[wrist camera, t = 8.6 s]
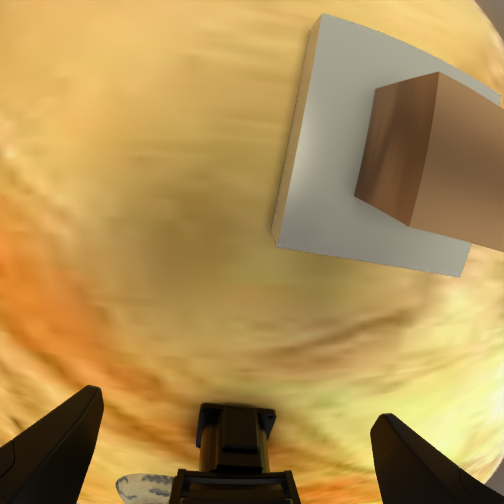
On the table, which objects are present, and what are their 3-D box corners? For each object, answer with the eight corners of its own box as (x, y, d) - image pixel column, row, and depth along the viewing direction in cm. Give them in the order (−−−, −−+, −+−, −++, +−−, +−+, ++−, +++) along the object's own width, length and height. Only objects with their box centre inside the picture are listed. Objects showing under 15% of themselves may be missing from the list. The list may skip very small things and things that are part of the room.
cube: (439, 218, 17) (504, 252, 11) (353, 196, 16) (408, 226, 10) (459, 124, 15) (531, 129, 9) (375, 88, 14) (439, 71, 9)
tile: (437, 261, 21) (459, 277, 18) (270, 231, 20) (276, 247, 17) (474, 96, 17) (500, 95, 14) (309, 29, 15) (322, 12, 13)
